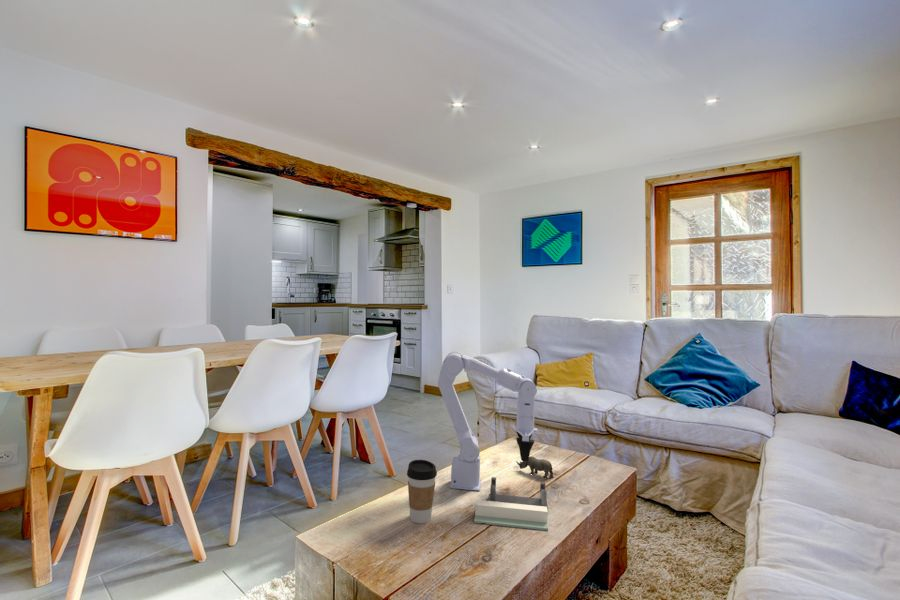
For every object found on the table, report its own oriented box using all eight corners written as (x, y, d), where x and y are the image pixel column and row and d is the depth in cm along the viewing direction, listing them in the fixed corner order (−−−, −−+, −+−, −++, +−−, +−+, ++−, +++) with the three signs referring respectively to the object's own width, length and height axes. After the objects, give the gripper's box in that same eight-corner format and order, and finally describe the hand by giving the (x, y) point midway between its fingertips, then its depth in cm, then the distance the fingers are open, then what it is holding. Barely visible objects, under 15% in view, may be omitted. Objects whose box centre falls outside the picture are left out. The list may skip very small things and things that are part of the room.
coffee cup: (422, 507, 126) (423, 456, 126) (441, 518, 120) (443, 465, 120) (399, 517, 121) (400, 463, 120) (418, 529, 114) (420, 473, 114)
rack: (487, 506, 128) (488, 486, 128) (489, 496, 135) (489, 477, 135) (548, 512, 126) (548, 492, 126) (546, 501, 133) (546, 482, 133)
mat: (474, 522, 119) (474, 520, 119) (476, 507, 128) (476, 505, 128) (548, 530, 116) (548, 528, 116) (545, 514, 125) (545, 512, 125)
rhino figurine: (518, 467, 159) (519, 451, 159) (554, 476, 152) (555, 459, 152) (514, 471, 156) (514, 454, 156) (550, 480, 148) (551, 463, 148)
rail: (475, 515, 122) (475, 504, 122) (476, 510, 125) (476, 499, 125) (547, 522, 119) (547, 511, 119) (546, 517, 122) (546, 506, 122)
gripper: (539, 422, 134) (537, 465, 134) (536, 410, 148) (535, 449, 148) (516, 420, 135) (515, 463, 135) (516, 408, 149) (514, 447, 150)
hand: (524, 456), depth 142 cm, fingers open, 7 cm apart
